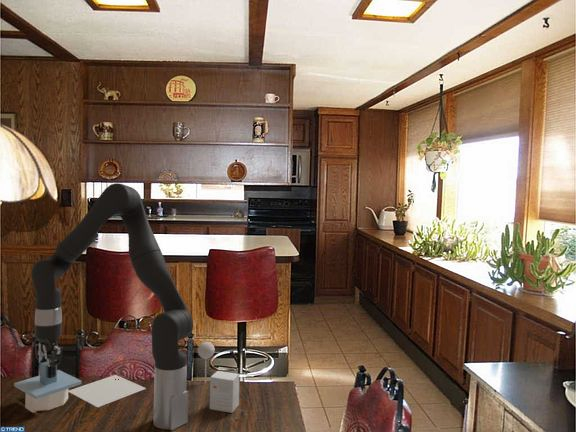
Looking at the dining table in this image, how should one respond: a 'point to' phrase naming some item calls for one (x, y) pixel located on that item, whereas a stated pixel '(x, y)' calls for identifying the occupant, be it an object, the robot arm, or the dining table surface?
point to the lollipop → (206, 352)
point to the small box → (224, 391)
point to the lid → (47, 383)
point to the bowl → (46, 401)
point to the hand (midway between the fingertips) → (47, 375)
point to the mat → (106, 390)
